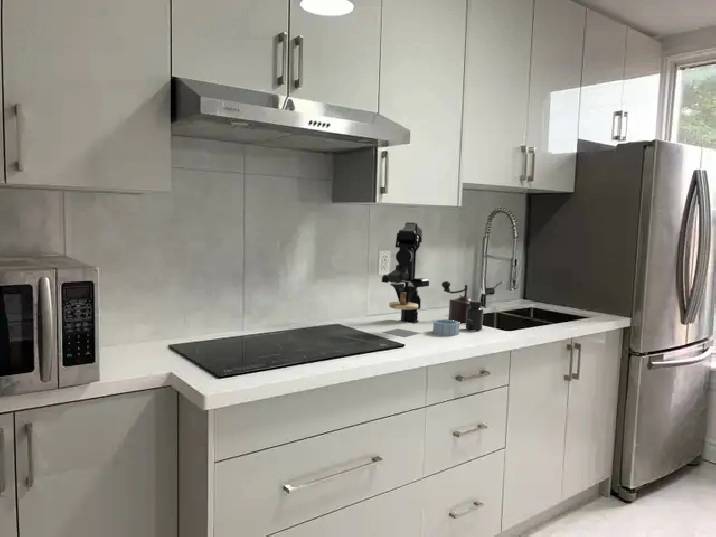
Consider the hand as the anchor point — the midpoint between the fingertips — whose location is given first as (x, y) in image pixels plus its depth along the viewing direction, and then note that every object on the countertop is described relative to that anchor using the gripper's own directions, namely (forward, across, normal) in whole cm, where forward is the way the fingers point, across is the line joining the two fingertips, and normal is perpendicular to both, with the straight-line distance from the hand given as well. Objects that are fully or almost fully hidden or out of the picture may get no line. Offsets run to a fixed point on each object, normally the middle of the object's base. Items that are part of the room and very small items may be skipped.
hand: (403, 302), depth 213 cm
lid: (+2, 0, 0) cm, 2 cm away
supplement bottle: (+13, +15, +31) cm, 37 cm away
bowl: (+12, +12, +13) cm, 21 cm away
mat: (+12, 0, 0) cm, 12 cm away
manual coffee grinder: (+13, 0, +44) cm, 46 cm away
